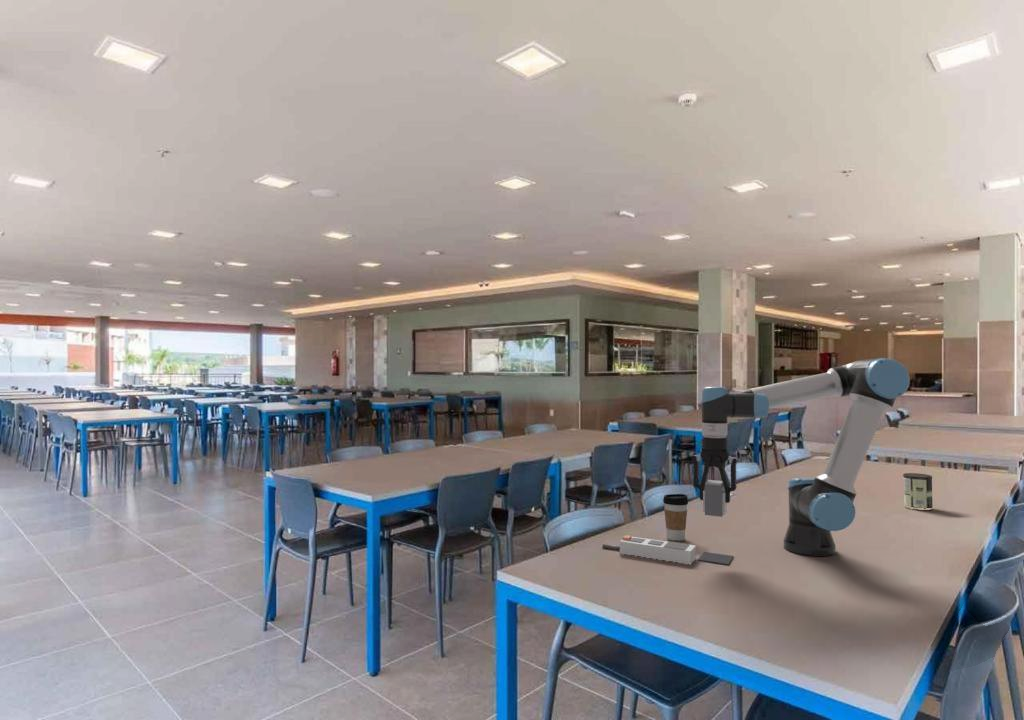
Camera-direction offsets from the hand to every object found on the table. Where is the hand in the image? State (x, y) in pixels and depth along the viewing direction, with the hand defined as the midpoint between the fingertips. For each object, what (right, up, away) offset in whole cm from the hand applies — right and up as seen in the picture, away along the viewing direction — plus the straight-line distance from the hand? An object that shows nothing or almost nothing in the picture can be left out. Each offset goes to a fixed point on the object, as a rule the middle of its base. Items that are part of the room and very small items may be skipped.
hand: (714, 511), depth 182 cm
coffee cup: (-6, -15, +23) cm, 28 cm away
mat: (0, -14, 0) cm, 14 cm away
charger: (0, -1, 0) cm, 1 cm away
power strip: (-20, -15, +4) cm, 25 cm away
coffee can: (+110, -16, +68) cm, 130 cm away
